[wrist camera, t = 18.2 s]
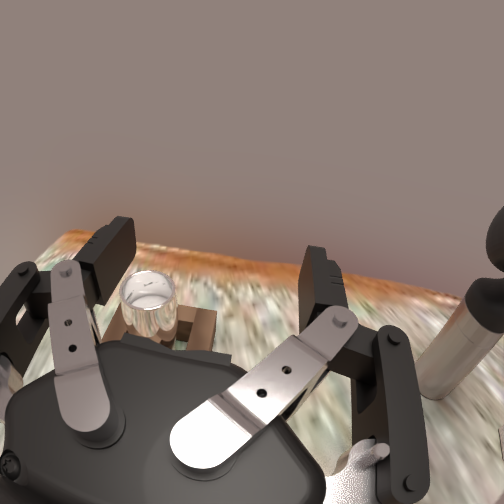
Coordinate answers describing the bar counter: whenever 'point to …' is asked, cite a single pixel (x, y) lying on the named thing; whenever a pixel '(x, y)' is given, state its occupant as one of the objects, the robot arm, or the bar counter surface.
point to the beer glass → (150, 306)
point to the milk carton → (502, 438)
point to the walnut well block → (189, 327)
